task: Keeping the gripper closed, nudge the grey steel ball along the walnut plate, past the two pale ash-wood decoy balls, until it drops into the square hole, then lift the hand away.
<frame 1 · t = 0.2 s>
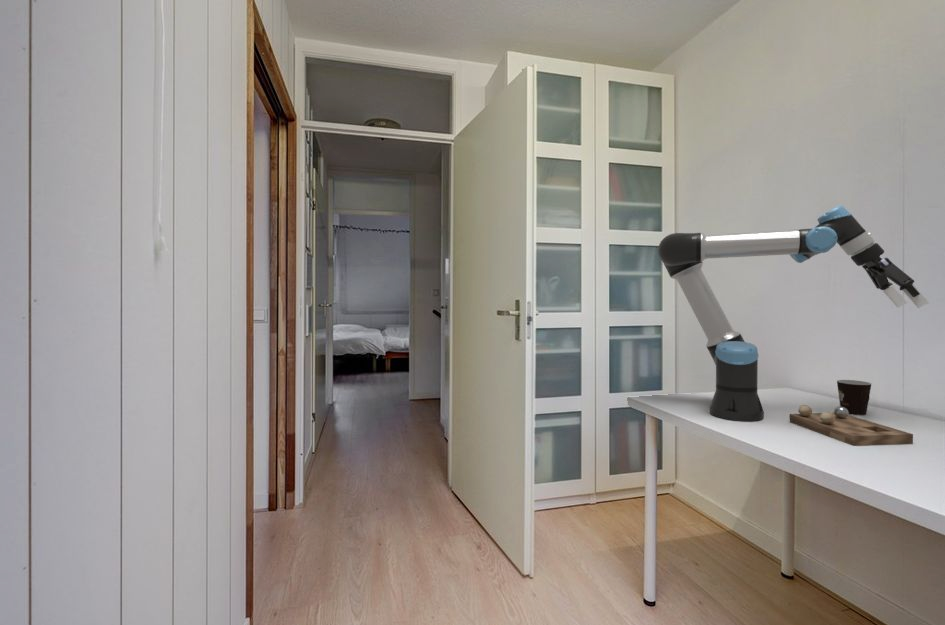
hand: (912, 305, 137), 35 cm above the table, tool tilted 35°, fingers open, 13 cm apart
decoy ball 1: (805, 410, 135), point 4 cm above the table, touching walnut plate
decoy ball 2: (827, 417, 127), point 4 cm above the table, touching walnut plate
walnut plate: (846, 431, 128), on the table
coffee mug: (853, 414, 147), on the table
steel ball: (841, 412, 133), point 4 cm above the table, touching walnut plate
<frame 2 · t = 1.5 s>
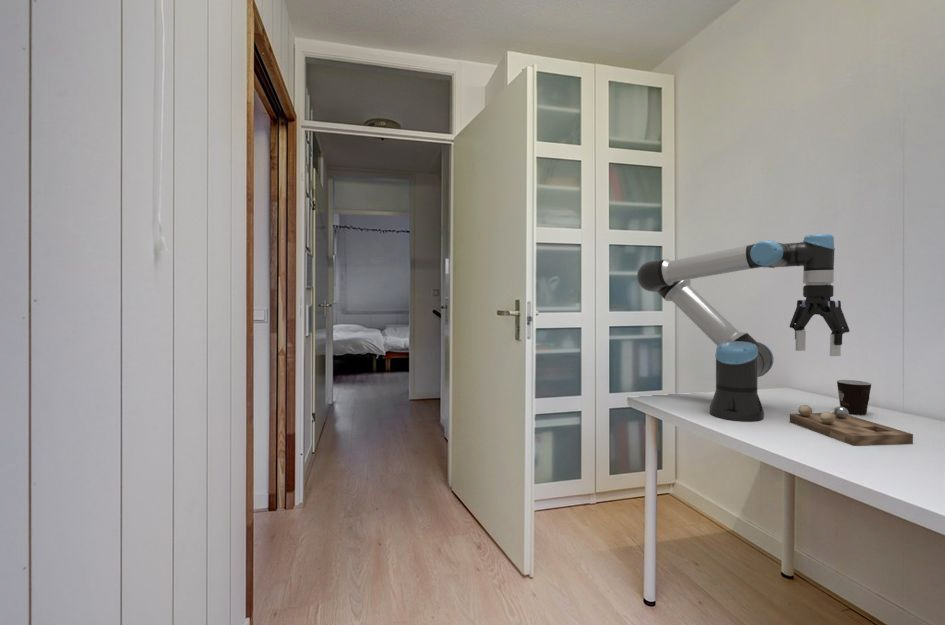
hand: (816, 353, 141), 20 cm above the table, tool pointing down, fingers open, 12 cm apart
nothing on the table moved.
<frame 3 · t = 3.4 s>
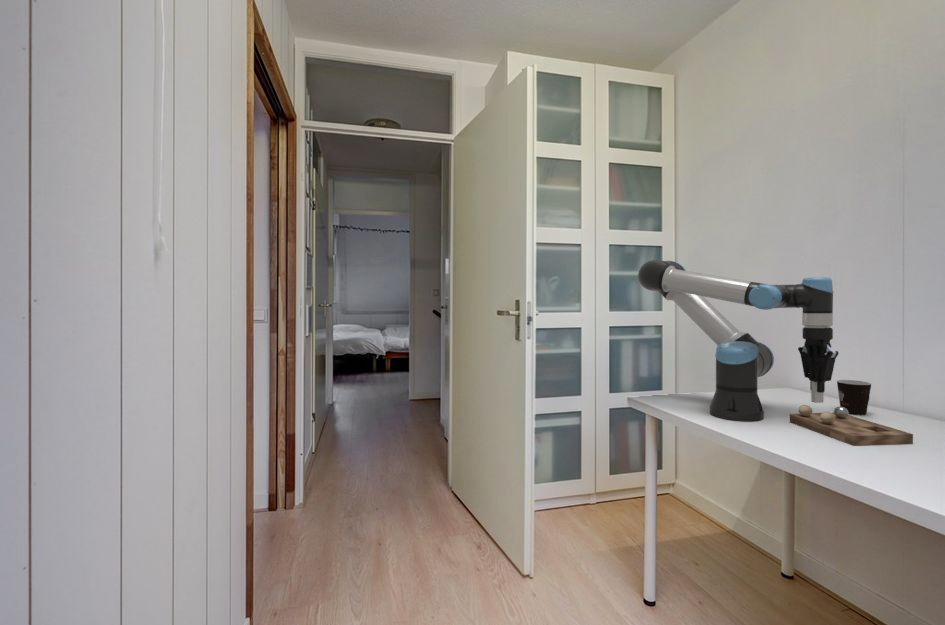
hand: (817, 402, 141), 5 cm above the table, tool pointing down, fingers closed
nothing on the table moved.
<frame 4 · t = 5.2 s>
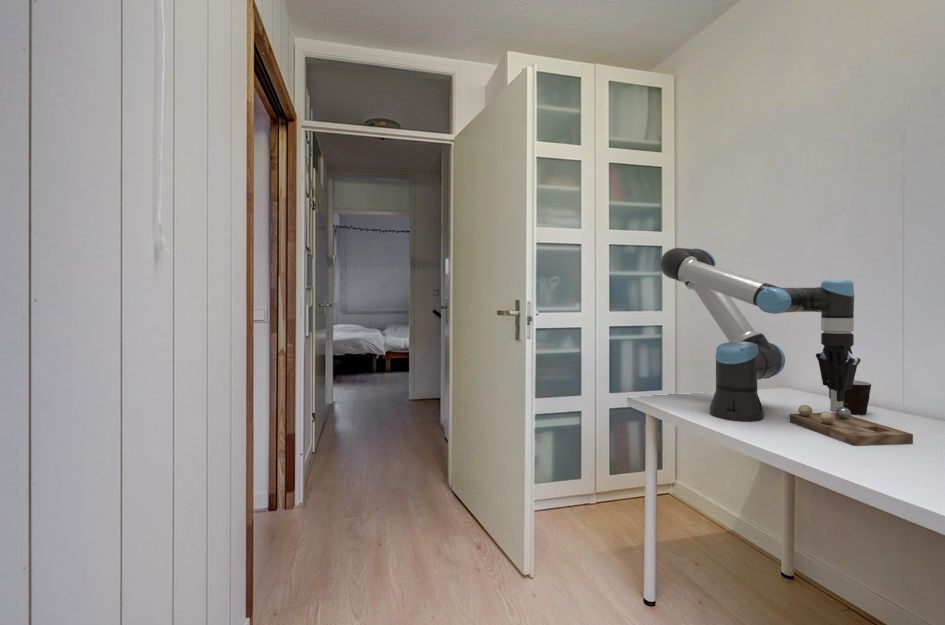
hand: (836, 411, 134), 4 cm above the table, tool pointing down, fingers closed
steel ball: (843, 413, 132), point 4 cm above the table, tilted 21°, touching gripper, walnut plate
everything else where it was.
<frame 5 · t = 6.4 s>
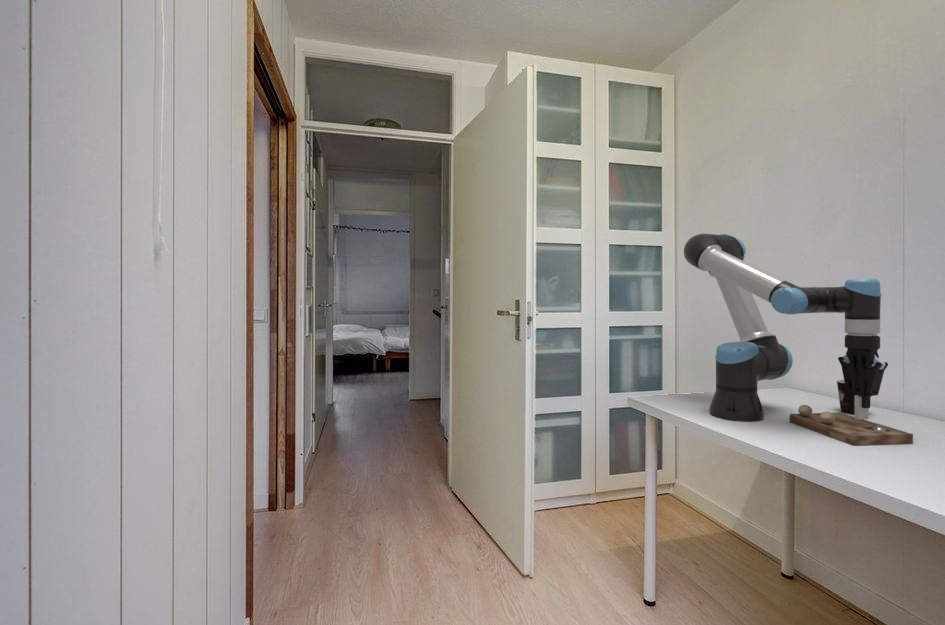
hand: (861, 418, 126), 4 cm above the table, tool pointing down, fingers closed
steel ball: (878, 432, 121), point 2 cm above the table, tilted 70°
everything else where it was.
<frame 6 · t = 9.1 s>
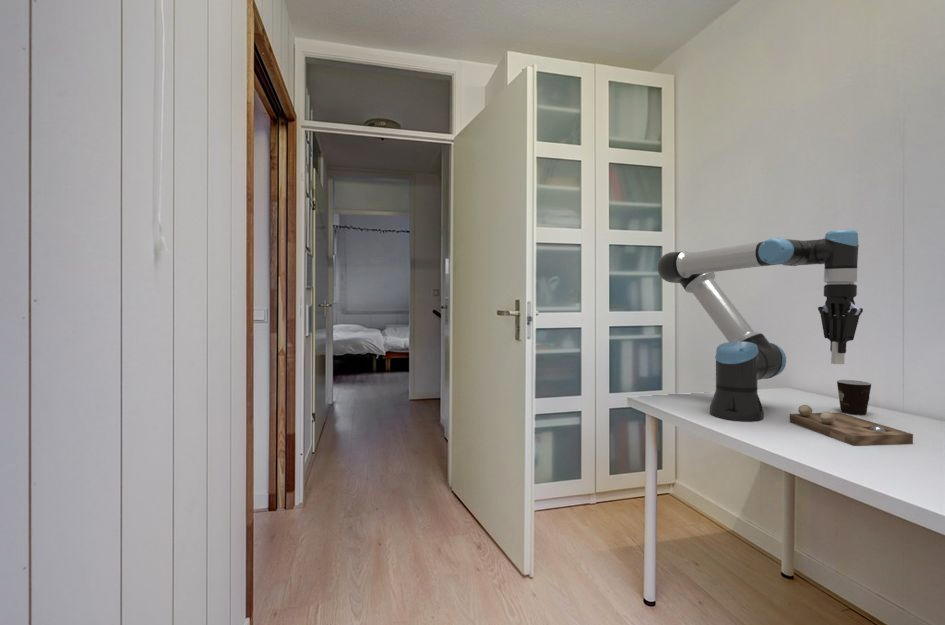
hand: (837, 363, 133), 18 cm above the table, tool pointing down, fingers closed
steel ball: (877, 432, 122), point 2 cm above the table, tilted 59°
everything else where it was.
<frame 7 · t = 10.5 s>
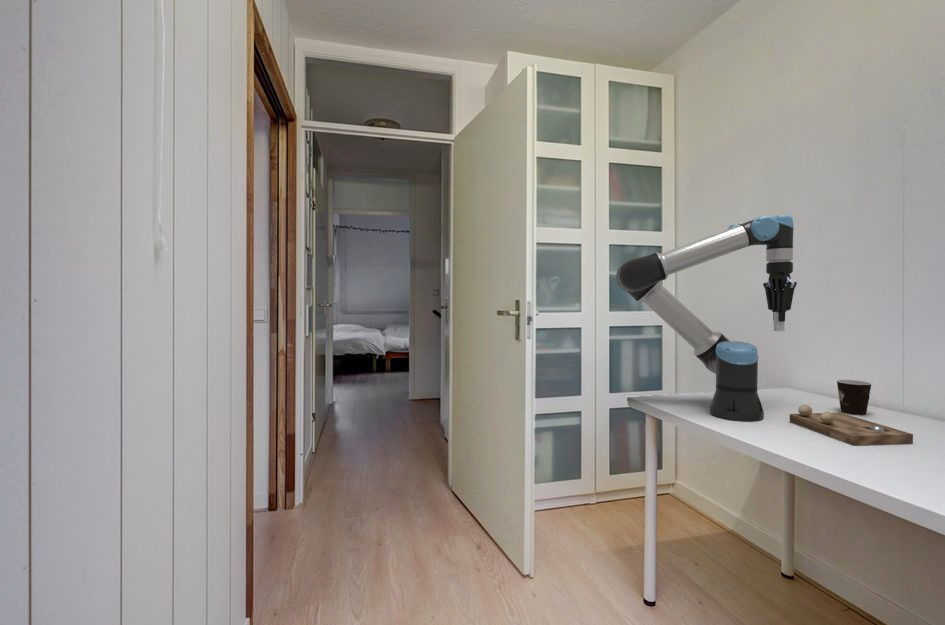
hand: (778, 331, 155), 26 cm above the table, tool pointing down, fingers closed
steel ball: (876, 432, 122), point 2 cm above the table, tilted 53°
everything else where it was.
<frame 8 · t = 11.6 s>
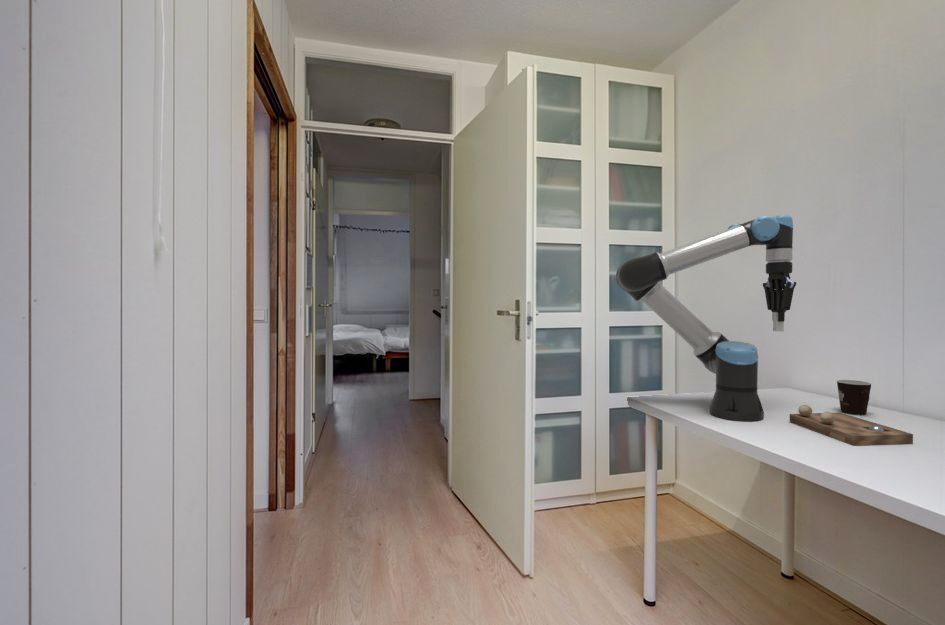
hand: (778, 331, 155), 26 cm above the table, tool pointing down, fingers closed
steel ball: (876, 431, 122), point 2 cm above the table, tilted 47°
everything else where it was.
at the end: steel ball 0.3 cm from the target spot on the walnut plate, point 1.7 cm above the walnut plate's base; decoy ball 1 moved 0.0 cm from its start; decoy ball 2 moved 0.0 cm from its start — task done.
